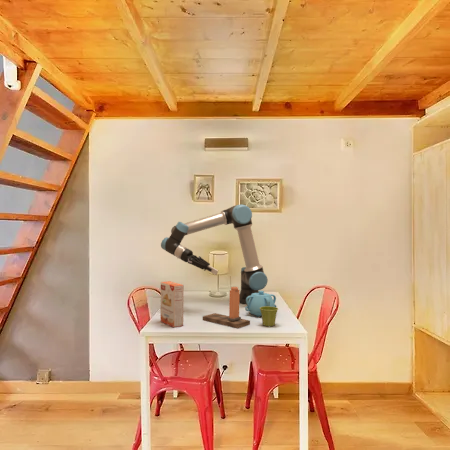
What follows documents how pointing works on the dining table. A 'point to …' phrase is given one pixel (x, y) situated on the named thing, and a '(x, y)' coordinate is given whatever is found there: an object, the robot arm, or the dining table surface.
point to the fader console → (226, 320)
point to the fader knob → (234, 304)
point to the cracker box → (172, 303)
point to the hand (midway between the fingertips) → (217, 272)
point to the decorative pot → (259, 302)
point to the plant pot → (268, 315)
